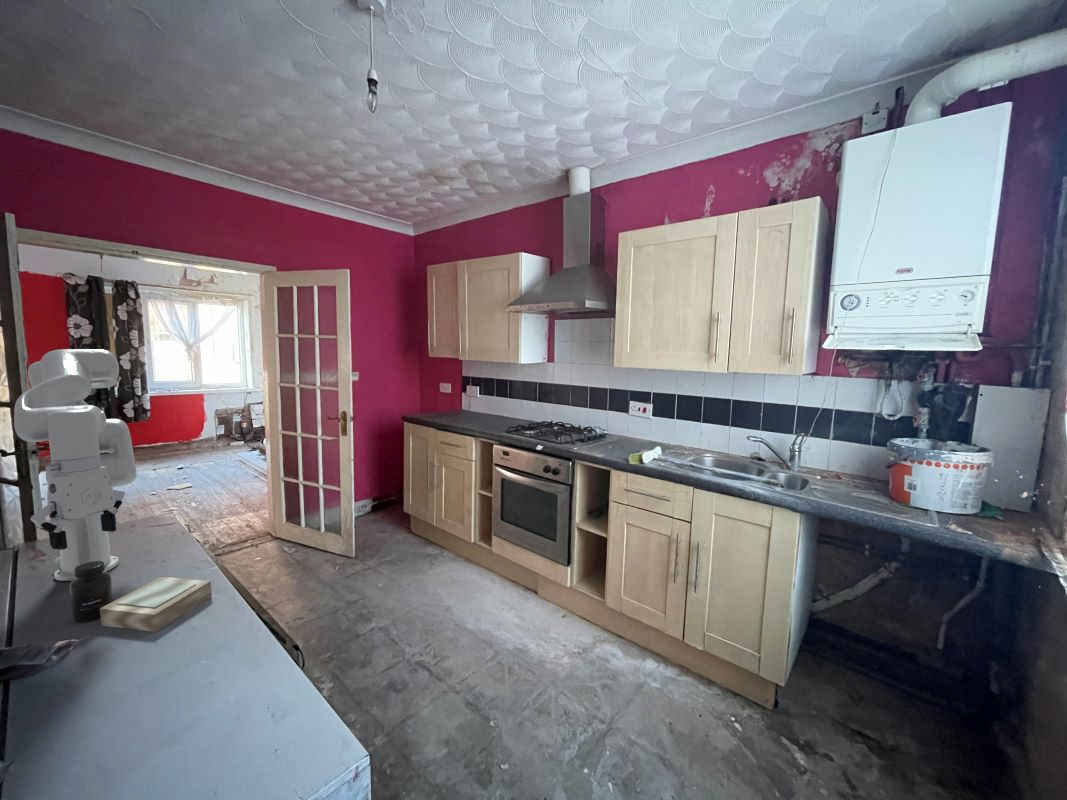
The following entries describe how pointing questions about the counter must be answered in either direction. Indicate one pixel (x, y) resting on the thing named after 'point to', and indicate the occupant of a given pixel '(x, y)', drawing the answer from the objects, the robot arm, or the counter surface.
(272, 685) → the counter surface
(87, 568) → the supplement bottle
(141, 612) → the birch stand
